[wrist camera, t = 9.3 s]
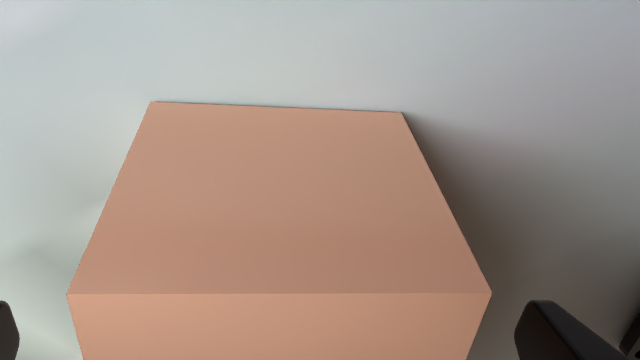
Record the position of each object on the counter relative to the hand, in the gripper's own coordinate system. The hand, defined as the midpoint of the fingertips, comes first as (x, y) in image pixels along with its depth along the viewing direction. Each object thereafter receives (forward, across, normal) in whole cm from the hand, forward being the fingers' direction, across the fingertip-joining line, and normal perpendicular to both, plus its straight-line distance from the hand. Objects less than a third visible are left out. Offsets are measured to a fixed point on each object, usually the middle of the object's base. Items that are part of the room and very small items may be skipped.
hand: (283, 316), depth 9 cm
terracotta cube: (+3, 0, 0) cm, 3 cm away
